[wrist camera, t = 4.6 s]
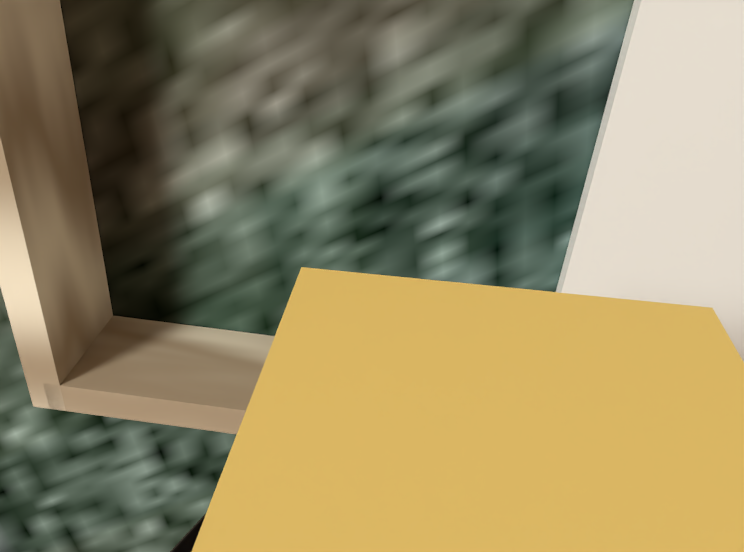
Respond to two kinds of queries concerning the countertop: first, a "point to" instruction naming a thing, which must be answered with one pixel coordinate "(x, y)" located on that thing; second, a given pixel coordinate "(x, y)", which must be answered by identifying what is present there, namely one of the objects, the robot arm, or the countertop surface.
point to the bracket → (89, 264)
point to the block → (485, 425)
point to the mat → (669, 167)
